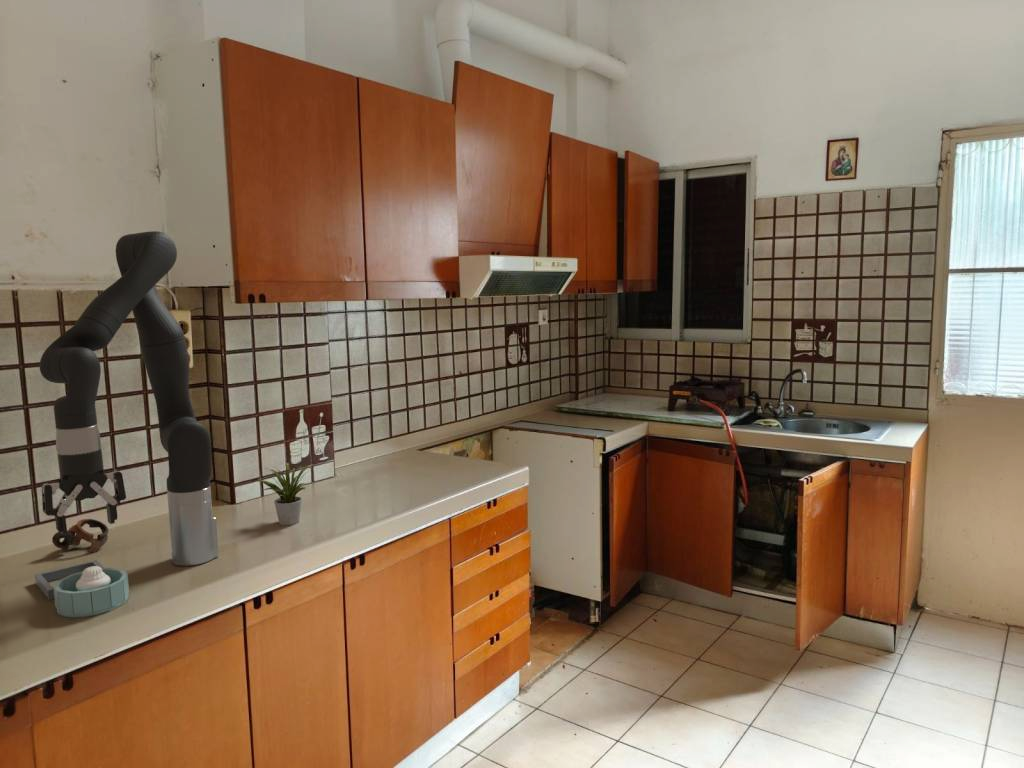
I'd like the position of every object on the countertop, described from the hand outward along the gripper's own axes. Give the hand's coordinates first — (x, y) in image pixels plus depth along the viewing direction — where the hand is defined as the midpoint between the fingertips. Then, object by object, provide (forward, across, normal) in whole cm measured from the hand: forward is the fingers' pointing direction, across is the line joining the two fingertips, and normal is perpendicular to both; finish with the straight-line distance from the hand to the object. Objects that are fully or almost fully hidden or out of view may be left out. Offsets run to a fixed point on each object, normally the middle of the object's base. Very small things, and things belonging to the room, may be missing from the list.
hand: (88, 528), depth 148 cm
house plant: (+17, +54, +20) cm, 60 cm away
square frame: (+16, 0, +15) cm, 22 cm away
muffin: (+15, 0, 0) cm, 15 cm away
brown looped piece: (+16, +7, +37) cm, 41 cm away
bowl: (+16, 0, 0) cm, 16 cm away
